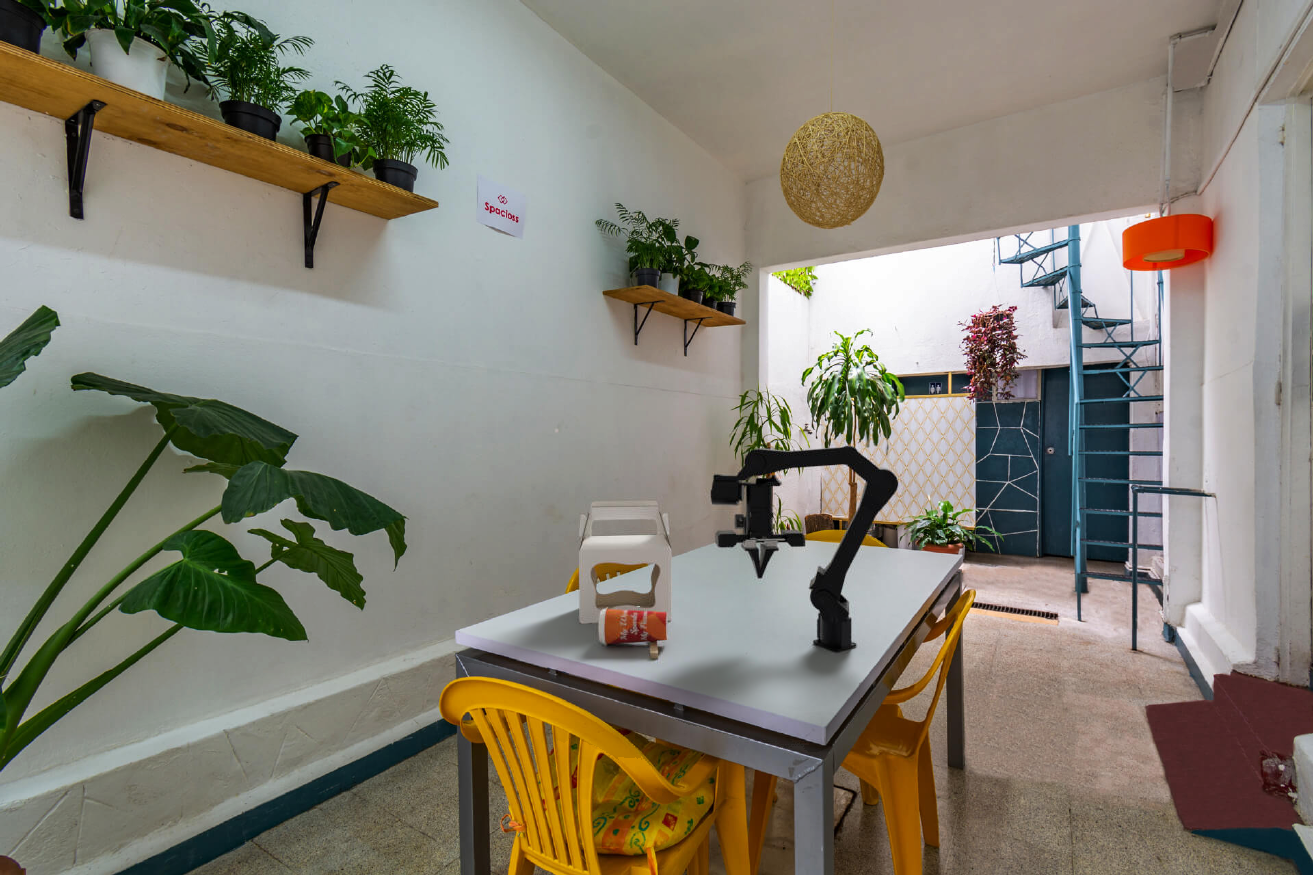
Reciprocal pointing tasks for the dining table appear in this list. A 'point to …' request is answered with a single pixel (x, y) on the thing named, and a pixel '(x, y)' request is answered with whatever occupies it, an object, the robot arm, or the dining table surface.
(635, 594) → the gable box
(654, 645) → the oak strip
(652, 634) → the paper cup
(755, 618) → the dining table surface
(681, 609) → the dining table surface
